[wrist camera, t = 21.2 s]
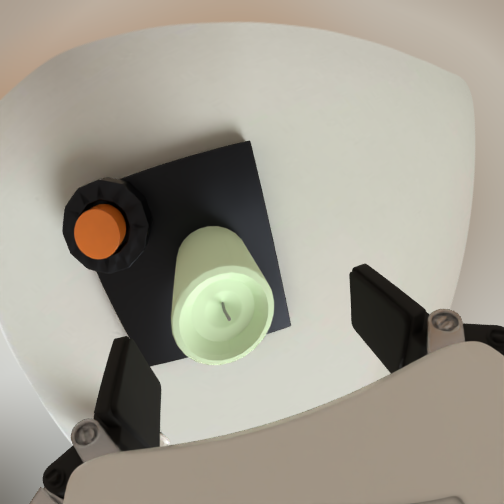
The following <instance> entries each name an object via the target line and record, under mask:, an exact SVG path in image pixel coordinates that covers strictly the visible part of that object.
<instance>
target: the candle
mask: <svg viewBox="0 0 504 504" xmlns="http://www.w3.org/2000/svg"><path fill="white" fill-rule="evenodd" d="M273 315H274V299H273V294H272V290H271V288H270V286H269V284H268V282H267V281H266V279H265V277H264V276H263V274H262V272H261V271H260V269H259V267H258V266H257V264H256V262H255V261H254V259H253V257H252V256H251V254H250V252H249V251H248V249H247V248H246V246H245V244H244V243H243V241H242V239H241V238H240V237H239V236H238V235H237V234H236V233H234V232H232V231H231V230H229V229H227V228H223V227H219V226H207V227H204V228H200V229H198V230H196V231H194V232H192V233H191V234H189V235H188V236H187V237H186V238H185V239H184V241H183V242H182V244H181V246H180V248H179V250H178V254H177V260H176V269H175V279H174V289H173V300H172V313H171V326H172V334H173V337H174V339H175V341H176V344H177V346H178V347H179V348H180V349H181V350H182V352H183V353H184V354H185V355H186V356H188V357H189V358H191V359H193V360H194V361H196V362H200V363H203V364H207V365H222V364H226V363H231V362H234V361H236V360H238V359H240V358H242V357H244V356H246V355H247V354H248V353H250V352H251V351H252V350H253V349H255V348H256V347H257V345H258V344H259V343H260V342H261V341H262V340H263V338H264V337H265V335H266V333H267V331H268V329H269V328H270V325H271V322H272V318H273Z"/></svg>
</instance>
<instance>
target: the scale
mask: <svg viewBox="0 0 504 504" xmlns="http://www.w3.org/2000/svg"><path fill="white" fill-rule="evenodd" d="M99 204H108V205H111V206H114V207H115V208H117V209H118V210H119V211H120V212H121V214H122V215H123V217H124V219H125V223H126V234H125V237H124V239H123V241H122V242H121V244H120V245H119V247H118V248H117V249H116V251H115V252H114V253H113V254H112V255H111V256H109V257H107V258H104V259H93V258H90V257H88V256H87V255H85V254H84V253H83V252H82V251H81V250H80V249H79V247H78V246H77V243H76V241H75V237H74V228H75V224H76V222H77V220H78V218H79V217H80V215H82V214H83V213H84V212H85V211H87V210H89V209H91V208H92V207H94V206H96V205H99ZM207 226H219V227H223V228H227V229H229V230H231V231H232V232H234V233H236V234H237V235H238V236H239V237H240V238H241V239H242V241H243V243H244V244H245V246H246V248H247V249H248V251H249V252H250V254H251V256H252V257H253V259H254V261H255V262H256V264H257V266H258V267H259V269H260V271H261V272H262V274H263V276H264V277H265V279H266V281H267V282H268V284H269V286H270V288H271V290H272V294H273V299H274V315H273V318H272V322H271V325H270V328H269V329H268V331H267V333H266V334H269V333H272V332H275V331H278V330H281V329H284V328H287V327H289V326H291V323H290V318H289V313H288V308H287V303H286V298H285V294H284V289H283V284H282V279H281V274H280V270H279V265H278V260H277V256H276V251H275V246H274V242H273V237H272V233H271V228H270V224H269V219H268V215H267V210H266V206H265V202H264V197H263V193H262V189H261V184H260V180H259V176H258V171H257V167H256V163H255V159H254V155H253V150H252V146H251V142H250V141H246V142H241V143H237V144H233V145H229V146H225V147H221V148H217V149H213V150H210V151H206V152H202V153H199V154H195V155H192V156H188V157H185V158H181V159H178V160H175V161H172V162H169V163H165V164H162V165H159V166H156V167H153V168H150V169H147V170H144V171H141V172H139V173H136V174H133V175H130V176H127V177H125V178H122V179H114V178H109V177H107V178H103V179H99V180H97V181H94V182H92V183H89V184H87V185H85V186H82V187H80V188H78V189H77V190H76V192H75V193H74V195H73V196H72V198H71V199H70V201H69V202H68V203H67V205H66V206H65V210H64V219H63V235H64V238H65V240H66V243H67V246H68V248H69V251H70V253H71V254H72V255H73V256H74V257H75V258H76V259H77V260H78V261H79V262H81V263H82V264H83V265H84V266H85V267H86V268H88V269H90V270H94V271H97V274H98V276H99V278H100V280H101V283H102V285H103V287H104V289H105V291H106V293H107V295H108V297H109V299H110V302H111V304H112V306H113V308H114V310H115V312H116V313H117V315H118V317H119V319H120V321H121V323H122V325H123V327H124V329H125V330H126V332H127V334H128V336H129V338H130V339H131V338H132V339H133V340H134V341H135V343H136V345H137V346H138V348H139V350H140V351H141V353H142V355H143V356H144V358H145V360H146V361H147V363H148V365H149V366H154V365H158V364H163V363H167V362H171V361H175V360H179V359H183V358H187V357H188V356H186V355H185V354H184V353H183V352H182V350H181V349H180V348H179V347H178V346H177V344H176V341H175V339H174V337H173V334H172V326H171V313H172V300H173V289H174V279H175V269H176V260H177V254H178V250H179V248H180V246H181V244H182V242H183V241H184V239H185V238H186V237H187V236H188V235H189V234H191V233H192V232H194V231H196V230H198V229H200V228H204V227H207Z"/></svg>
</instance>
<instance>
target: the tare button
mask: <svg viewBox="0 0 504 504" xmlns="http://www.w3.org/2000/svg"><path fill="white" fill-rule="evenodd" d="M125 234H126V223H125V219H124V217H123V215H122V214H121V212H120V211H119V210H118V209H117V208H115V207H114V206H111V205H108V204H99V205H96V206H94V207H92V208H91V209H89V210H87V211H85V212H84V213H83V214H82V215H80V217H79V218H78V220H77V222H76V224H75V228H74V237H75V241H76V243H77V246H78V247H79V249H80V250H81V251H82V252H83V253H84V254H85V255H87V256H88V257H90V258H93V259H104V258H107V257H109V256H111V255H112V254H113V253H114V252H115V251H116V249H117V248H118V247H119V245H120V244H121V242H122V241H123V239H124V237H125Z"/></svg>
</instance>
